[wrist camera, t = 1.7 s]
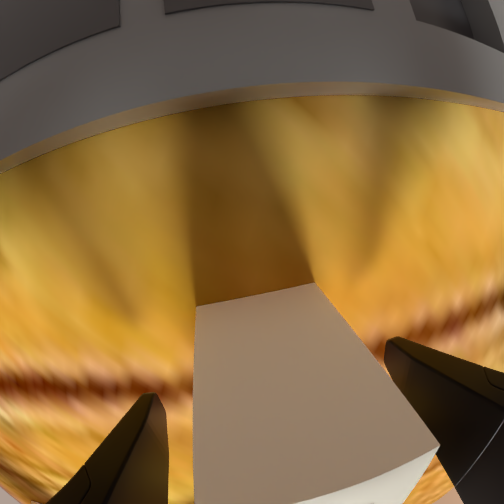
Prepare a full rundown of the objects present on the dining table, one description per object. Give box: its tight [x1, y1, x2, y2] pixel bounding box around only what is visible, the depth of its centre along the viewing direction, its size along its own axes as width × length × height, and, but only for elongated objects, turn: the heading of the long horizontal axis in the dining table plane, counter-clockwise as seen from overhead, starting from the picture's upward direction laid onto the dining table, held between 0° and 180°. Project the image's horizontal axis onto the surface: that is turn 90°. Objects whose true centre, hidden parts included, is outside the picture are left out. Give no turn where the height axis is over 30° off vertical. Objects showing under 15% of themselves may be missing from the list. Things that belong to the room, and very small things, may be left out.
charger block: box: [193, 282, 440, 504], centre depth 7 cm, size 4×4×7 cm
